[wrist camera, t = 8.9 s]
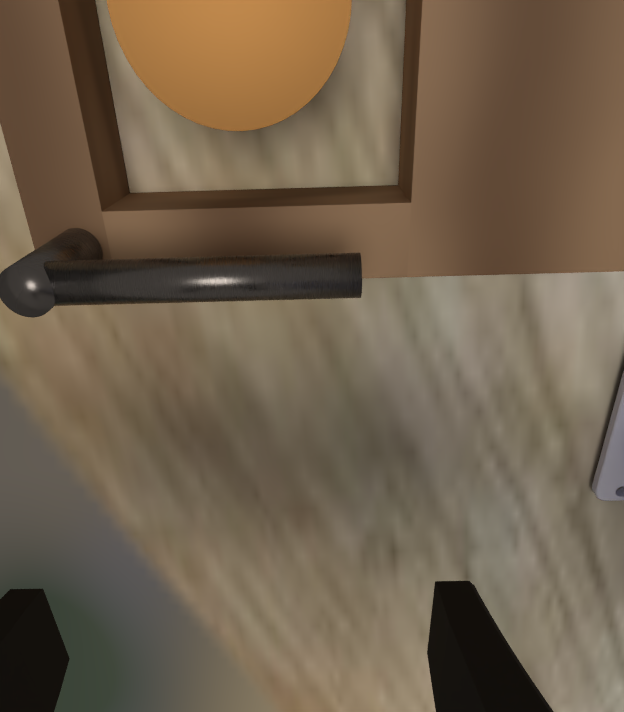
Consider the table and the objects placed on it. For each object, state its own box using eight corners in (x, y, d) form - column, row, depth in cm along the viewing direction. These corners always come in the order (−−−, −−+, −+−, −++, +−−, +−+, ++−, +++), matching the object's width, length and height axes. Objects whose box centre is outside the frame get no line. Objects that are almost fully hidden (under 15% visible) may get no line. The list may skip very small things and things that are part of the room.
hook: (347, 200, 16) (361, 256, 11) (347, 239, 17) (361, 308, 12) (85, 207, 16) (-11, 265, 12) (94, 246, 17) (5, 317, 12)
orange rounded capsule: (347, -78, 13) (367, -149, 9) (329, 118, 15) (337, 141, 11) (164, -99, 13) (91, -181, 9) (171, 103, 15) (115, 120, 11)
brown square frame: (708, -318, 11) (799, -407, 9) (588, 245, 17) (627, 271, 15) (-51, -286, 12) (-133, -365, 9) (78, 259, 17) (45, 286, 15)
